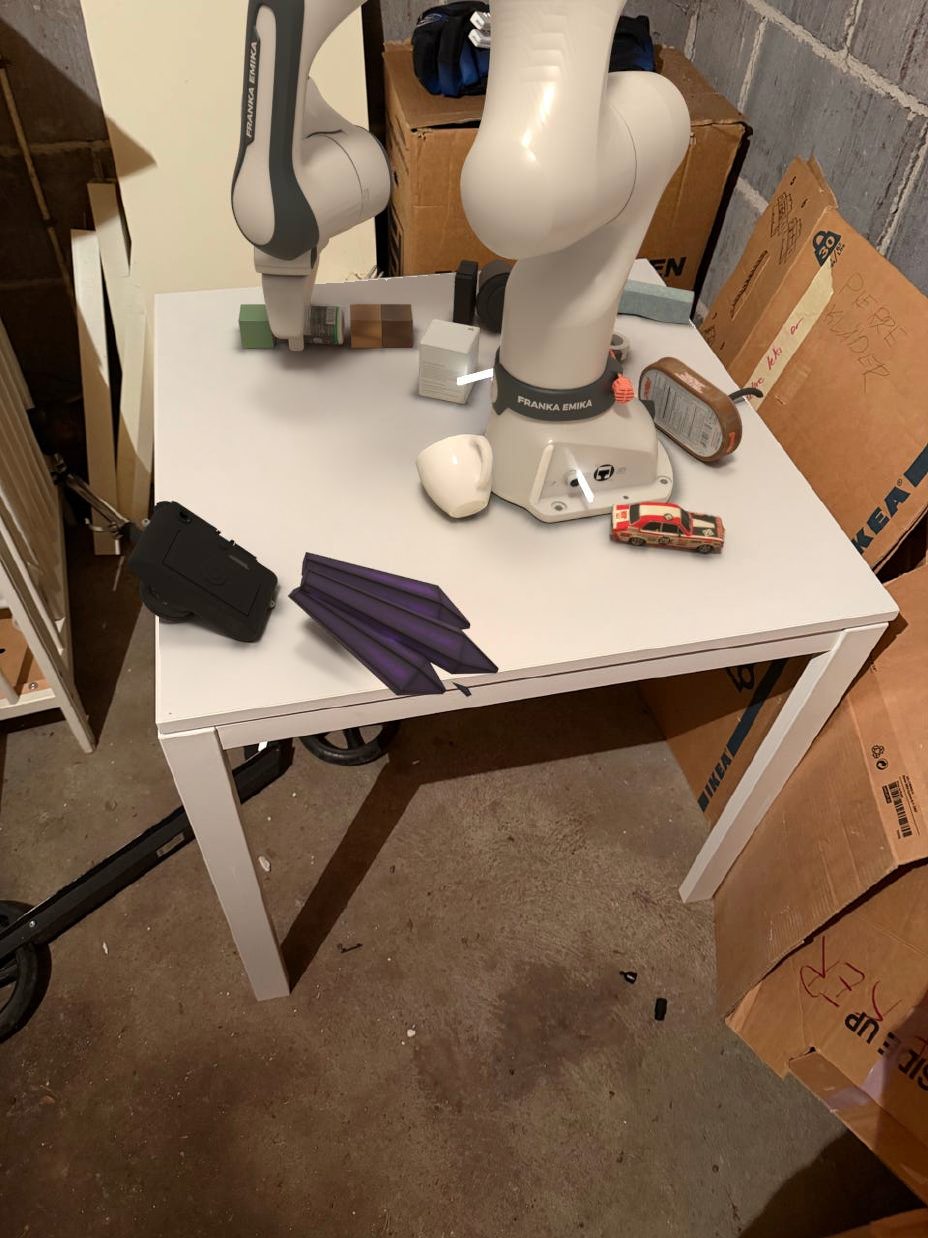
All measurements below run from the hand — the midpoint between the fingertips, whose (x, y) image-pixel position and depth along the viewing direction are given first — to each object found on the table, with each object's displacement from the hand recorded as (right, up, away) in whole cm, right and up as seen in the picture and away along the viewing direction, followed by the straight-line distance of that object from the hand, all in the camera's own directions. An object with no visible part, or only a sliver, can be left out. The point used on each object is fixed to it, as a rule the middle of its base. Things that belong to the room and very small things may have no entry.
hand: (301, 331), depth 115 cm
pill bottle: (+6, 0, -1) cm, 6 cm away
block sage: (-6, -1, +1) cm, 6 cm away
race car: (+43, -29, -20) cm, 55 cm away
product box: (+19, -9, -4) cm, 22 cm away
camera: (-4, -37, -36) cm, 51 cm away
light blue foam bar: (+42, +8, +9) cm, 44 cm away
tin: (+47, -16, -9) cm, 50 cm away
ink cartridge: (+21, +3, +6) cm, 22 cm away
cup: (+22, -26, -23) cm, 41 cm away
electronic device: (+36, -4, +1) cm, 36 cm away
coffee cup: (+26, +10, +9) cm, 29 cm away
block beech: (+8, -1, +2) cm, 9 cm away
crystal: (+6, -34, -37) cm, 51 cm away
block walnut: (+12, 0, +2) cm, 13 cm away
